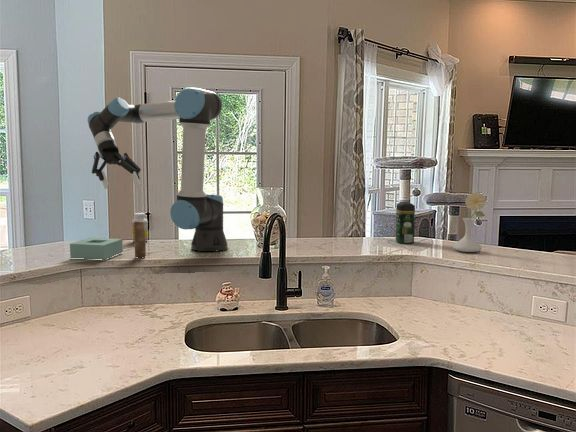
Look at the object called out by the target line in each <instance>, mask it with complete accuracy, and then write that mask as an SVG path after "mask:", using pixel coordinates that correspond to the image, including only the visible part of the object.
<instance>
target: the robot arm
mask: <svg viewBox="0 0 576 432" xmlns="http://www.w3.org/2000/svg"><path fill="white" fill-rule="evenodd" d="M221 99H222V98H220V96H219V95H218V94H217V93H216V92H214V91H212V90H206V89H203V88H199V87H185V88H183V89H181V90H180V91H179V92H178V94H177V95H176V96H175V99H174V100H169V101H160V102H149V103H142V104H141V103H139V104H129V103H128V102H127V101H126V100H125V99H124V98H122V97H114V98H113V99H112V100H111V101H109V103H108V104H107V105H106V106H105V107H104V108H103V109H102V110H101V111H94V112H93V113H90V114H89V115H88V117H87V124H88V127H89V129H90V132H91V134H92V136H93V139H94V142H95V144H96V147H97V150H98V151H95V153H94V155H93V159H94V160H93V165H92V169H91V174H93V175H94V174H95V176H96V177H98V179H99V181H101V182H102V185H103V187H104V189H105V190H107V189H108V188H109V185H110V183H109V181H108V178H107V175H106V173H105V171H104V168H105V167H106V165H107V164H108V165H117V166H118V167H122V168H123V169H124V170H125V171H127V172H128V173H130V174H131V175H130V176H131V178H132V180H133V183H134V185H135V188H136V189H139V188H140V186H141V185H142V184H141V181H140V179H141V178H140V176H139V174H140V172H141V171H142V169H141V167H139V166H138V165H137V163H135V162H134V161H133V159H132V158H130V156H129V155H128V153H127V152H124V153H120V150H119V147H118V144H117V141H116V139H115V137H114V135H113V132H112V129H113V128H114V127H115V126H116V125H117V124H118V123H119V122H120V123H132V124H133V123H134V124H144V123H147V122H157V121H158V122H159V121H170V120H178V121H179V125H180V126H181V127H182V148H181V149H182V153H181V154H182V155H181V176H180V177H181V179H180V190H179V191H178V192H177V193H176V201H175V202H173V203H172V205H171V208H170V212H169V213H170V218H171V221H172V222H173V224H175V226H176V227H177V228H179V229H182V230H186V231H187V230H194V234H193V237H192V239H191V245H190V247H191V248H190V249H191V250H192V249H193V250H192V251H194V250H198V251H197V252H199V251H216V250H223V251H225V250H224V249H226V250H228V245H229V244H228V241H227V237H226V235H225V231H224V199H223V196H222V195H220V194H211V193H209V194H208V193H205V192H204V181H205V179H204V176H205V175H204V174H205V173H204V172H205V153H206V132H207V128H209V127H210V126H211V121H212V120H215V119H216V118H218V117H219V116H220V114H221V112H222V111H223V110H222V109H223V103H222V100H221ZM100 159H102V160H103V162H102V164H101V165H100V167H99V168H98V166H99V161H100ZM216 252H217V251H216Z"/></svg>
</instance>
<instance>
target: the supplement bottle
mask: <svg viewBox="0 0 576 432" xmlns="http://www.w3.org/2000/svg"><path fill="white" fill-rule="evenodd" d="M133 216H134V218H133V219H132V222H131V224H132V225H131V226H132V242H133V241H135V238H134V222H135V221H145V241H147V242H148V241H149V229H148V227H149V226H148V225H149V224H148V223H149V221H148V219H147V218H146V213H144V212H135V213H134V214H133Z"/></svg>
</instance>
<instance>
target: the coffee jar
mask: <svg viewBox="0 0 576 432" xmlns="http://www.w3.org/2000/svg"><path fill="white" fill-rule="evenodd" d="M395 210H396V212H395V213H396V214H395V215H396V216H395V241H396V242H397V243H398V244H404V245H409V244H414V242H415V216H416V215H415V213H416V205H414V204H413V203H410V202H409V201H400V202H398V203H397V204H396V209H395Z"/></svg>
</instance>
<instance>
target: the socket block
mask: <svg viewBox="0 0 576 432" xmlns="http://www.w3.org/2000/svg"><path fill="white" fill-rule="evenodd" d="M123 247H124V246H123V239H122V238H105V237H103V238H102V237H101V238H99V237H88V238H84V239H82V240H78V241H75V242H71V243H69V254H70V255H69V257H70V258H84V259H102V260H105V259H107V258H110V257H112V256H114V255H116V254H119V253H121V252H123V251H124V249H123Z"/></svg>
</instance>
